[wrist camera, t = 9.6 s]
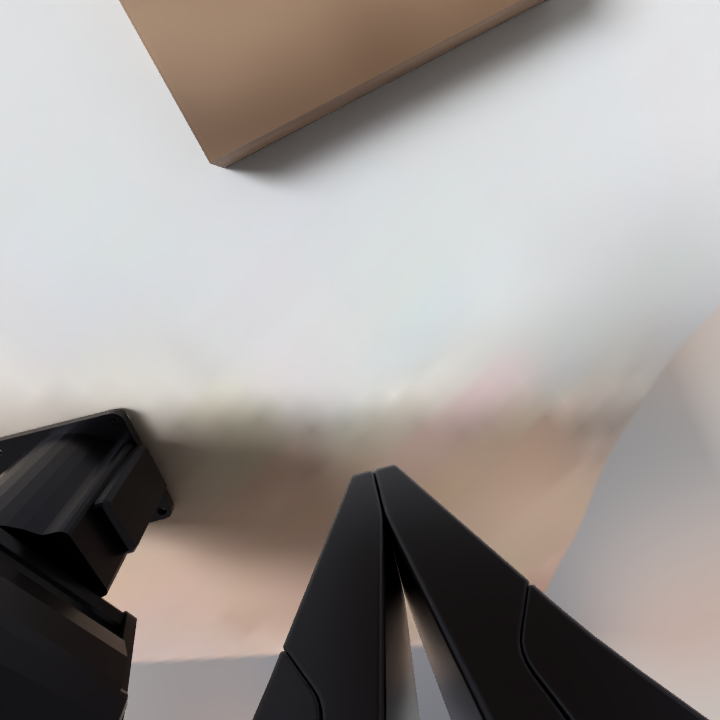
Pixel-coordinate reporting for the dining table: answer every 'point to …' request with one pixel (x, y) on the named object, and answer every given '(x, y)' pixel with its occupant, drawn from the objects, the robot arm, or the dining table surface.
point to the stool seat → (293, 57)
